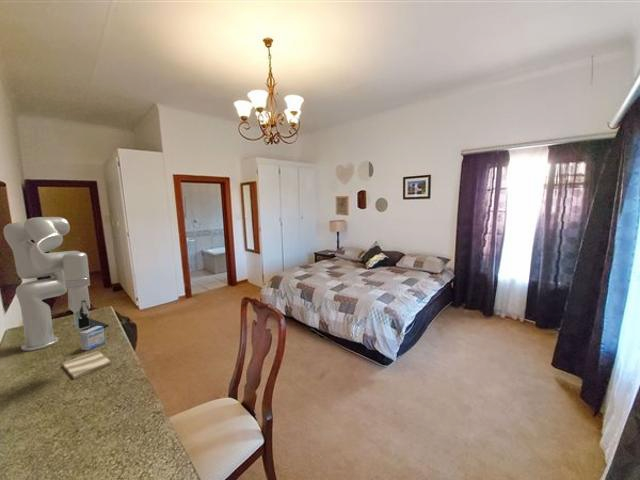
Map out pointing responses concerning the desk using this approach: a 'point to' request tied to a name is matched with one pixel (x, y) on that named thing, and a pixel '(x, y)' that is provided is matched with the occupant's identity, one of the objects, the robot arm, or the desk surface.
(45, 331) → the robot arm
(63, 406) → the desk surface
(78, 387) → the desk surface
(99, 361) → the birch board
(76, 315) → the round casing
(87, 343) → the medicine box
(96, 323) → the smart home device
